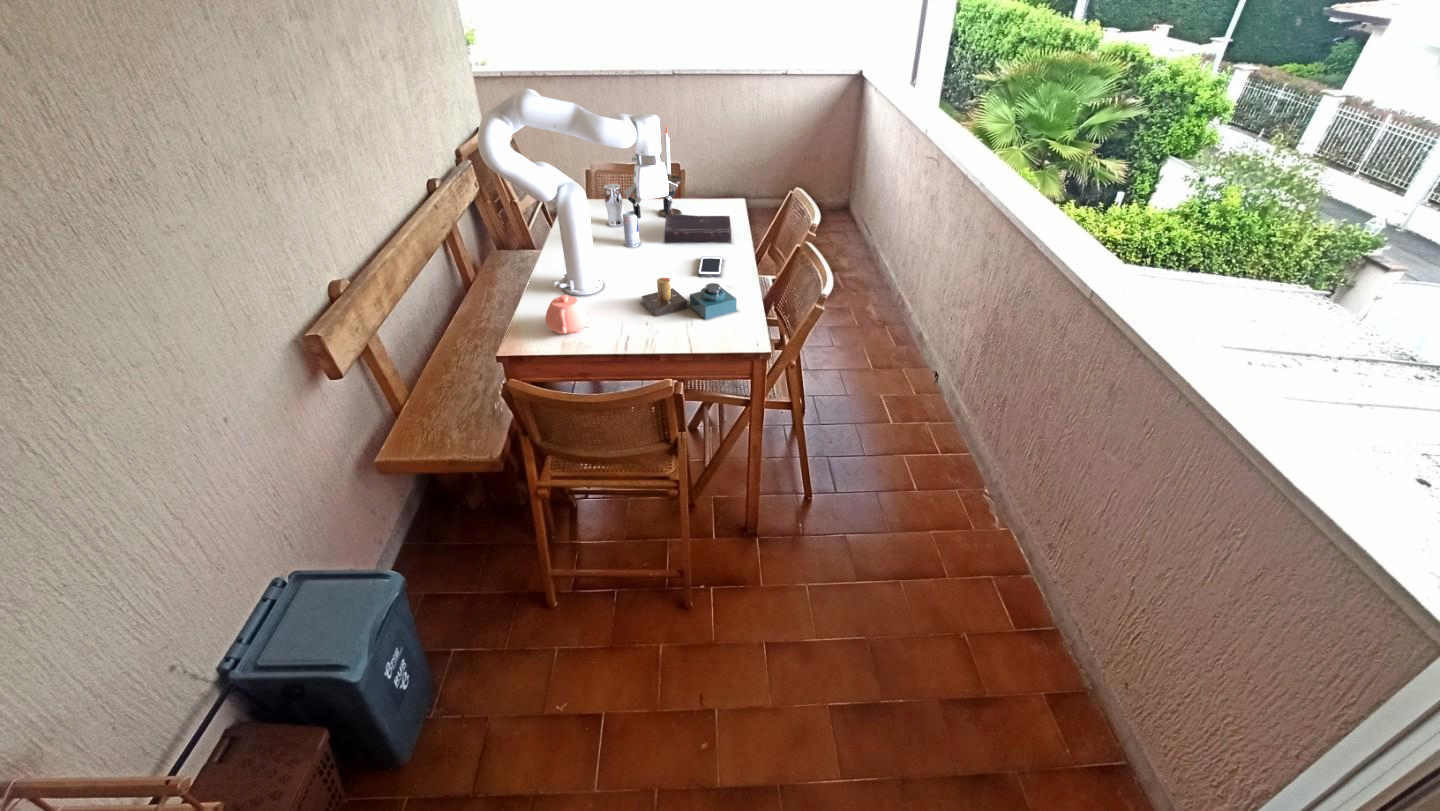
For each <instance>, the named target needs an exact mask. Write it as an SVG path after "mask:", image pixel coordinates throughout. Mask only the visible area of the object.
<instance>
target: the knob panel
mask: <svg viewBox="0 0 1440 811" xmlns="http://www.w3.org/2000/svg"><path fill="white" fill-rule="evenodd" d="M670 289H671V299H670V300H667V301H661V300H659V299H658V291H656V292H651V293H649V294H645V295H644V294H643V295H642V296H641V303H642V304H643V305H644V306H645V307H646V308H647V309H648V310H649V311H650V312H651V313H652V314H653V315H654V316H655V317H658V316H662V315H665V314H666V315H667V314H668V313H673V312H677V311H680V310H684V309H688V308H689V305H688V303H689V302H688V299H686V298H685V296H683V295H682V294H680V293H679V292H678V291H677V290H676V289H674V288H670Z"/></svg>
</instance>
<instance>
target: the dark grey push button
mask: <svg viewBox="0 0 1440 811" xmlns="http://www.w3.org/2000/svg"><path fill="white" fill-rule="evenodd" d="M705 287H706V294H709V295H717V294H719V293H720V287H721V285H720V284H719V283H715V282H711V283H707V284H706V285H705Z"/></svg>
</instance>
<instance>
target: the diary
mask: <svg viewBox="0 0 1440 811" xmlns="http://www.w3.org/2000/svg"><path fill="white" fill-rule="evenodd" d="M731 227H732V226H731V216H730V215H690V214H681V215H666V218H665V223H664V231H663V234H664V243H665V244H675V243H691V244H693V243H694V244H695V243H696V244H699V243H701V244H702V243H705V244H706V243H725V244H727V243H732V228H731Z"/></svg>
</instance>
